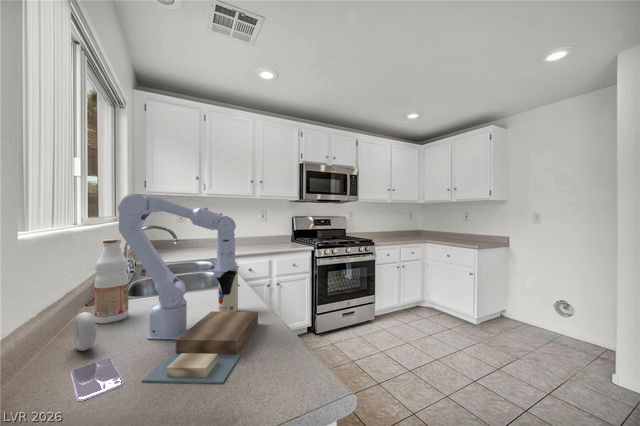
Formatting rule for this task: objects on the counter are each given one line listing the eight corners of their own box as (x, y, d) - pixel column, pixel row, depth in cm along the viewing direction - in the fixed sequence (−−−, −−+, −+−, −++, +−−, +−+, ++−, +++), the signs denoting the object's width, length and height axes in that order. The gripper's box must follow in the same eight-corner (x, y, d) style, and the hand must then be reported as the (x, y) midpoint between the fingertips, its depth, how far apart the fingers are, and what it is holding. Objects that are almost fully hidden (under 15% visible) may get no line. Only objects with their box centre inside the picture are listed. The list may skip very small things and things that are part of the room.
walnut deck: (175, 355, 68) (175, 339, 68) (210, 323, 88) (210, 311, 88) (236, 356, 68) (236, 340, 68) (257, 323, 88) (257, 311, 88)
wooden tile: (181, 353, 65) (182, 361, 65) (166, 367, 59) (166, 376, 59) (217, 353, 64) (217, 362, 64) (206, 368, 58) (206, 377, 58)
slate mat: (141, 381, 57) (141, 380, 57) (174, 353, 69) (174, 351, 69) (222, 383, 57) (222, 381, 57) (241, 354, 69) (241, 352, 69)
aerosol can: (216, 311, 99) (216, 258, 99) (234, 307, 103) (233, 256, 103) (222, 317, 93) (221, 261, 94) (240, 312, 98) (240, 259, 98)
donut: (98, 352, 70) (98, 314, 70) (80, 358, 67) (80, 318, 67) (87, 341, 76) (87, 307, 76) (71, 346, 73) (71, 310, 73)
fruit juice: (103, 326, 86) (103, 241, 87) (88, 321, 91) (89, 240, 91) (134, 316, 95) (134, 238, 95) (119, 312, 99) (119, 238, 99)
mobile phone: (110, 356, 67) (125, 381, 57) (110, 360, 67) (125, 386, 57) (69, 369, 61) (77, 400, 51) (69, 374, 61) (77, 405, 51)
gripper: (229, 256, 79) (230, 301, 79) (245, 249, 93) (245, 288, 93) (206, 256, 79) (206, 301, 79) (225, 249, 94) (226, 288, 94)
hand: (226, 294), depth 86 cm, fingers closed
